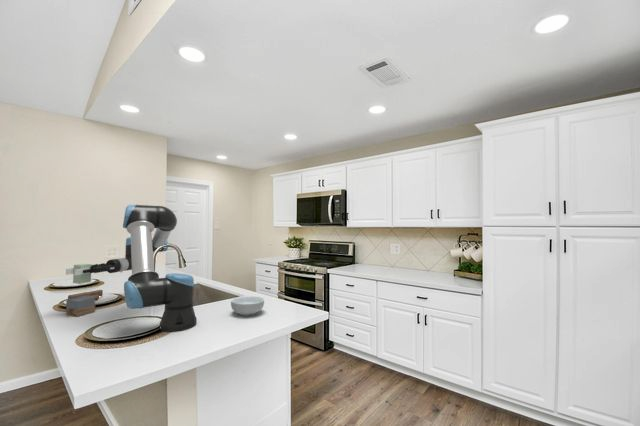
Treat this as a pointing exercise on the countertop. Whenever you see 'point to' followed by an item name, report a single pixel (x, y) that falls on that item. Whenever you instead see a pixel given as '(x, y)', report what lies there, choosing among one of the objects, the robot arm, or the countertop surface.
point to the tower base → (80, 311)
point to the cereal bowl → (247, 305)
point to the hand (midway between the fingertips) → (70, 272)
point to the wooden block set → (88, 294)
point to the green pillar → (83, 277)
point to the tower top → (80, 302)
